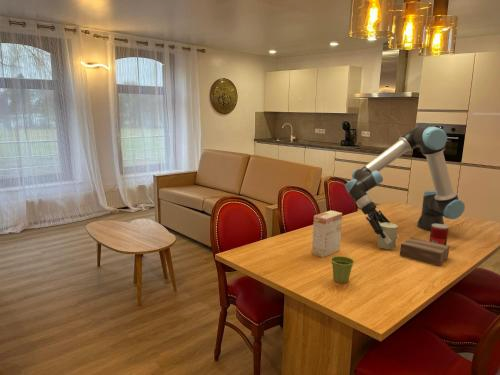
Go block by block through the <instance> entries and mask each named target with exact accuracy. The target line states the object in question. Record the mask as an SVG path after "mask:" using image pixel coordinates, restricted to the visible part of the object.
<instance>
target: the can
mask: <svg viewBox="0 0 500 375" xmlns="http://www.w3.org/2000/svg"><path fill="white" fill-rule="evenodd" d="M379 224H380V226H381V228H382V232H383V231H384V232H385V233H386V234H387V236H388V237H389V238H390V240H391V241H392V242H390V243H389V244H386V242H385V241H384V240H383V238H382V237H381V236H380V234H378V235H377V244H376V245H377V247H378V248H381V249H384V250H394V249H397V248H396V247H397V246H396V245H397V239H396V236H397V235H398V229H399V228H398V227H399V226H398V225H397V224H396V223H392V222H391V223H380V222H379Z"/></svg>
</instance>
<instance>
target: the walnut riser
mask: <svg viewBox="0 0 500 375" xmlns="http://www.w3.org/2000/svg"><path fill="white" fill-rule="evenodd" d="M399 249H400V250H399V256H401V257H404V258H407V259H411V260H414V261H419V262H422V263H427V264H430V265H434V266H436V267H437V266H438V267H440V266H441V265H442V264H444V262H446V260H448V258H449V252H450V245H447V244H446V245H443V244H438V243H434V242H430V240H425V239H421V238H417V237H412V236H411V237H409V238H408V239H406V240H405V241H403V242H400V248H399Z"/></svg>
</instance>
